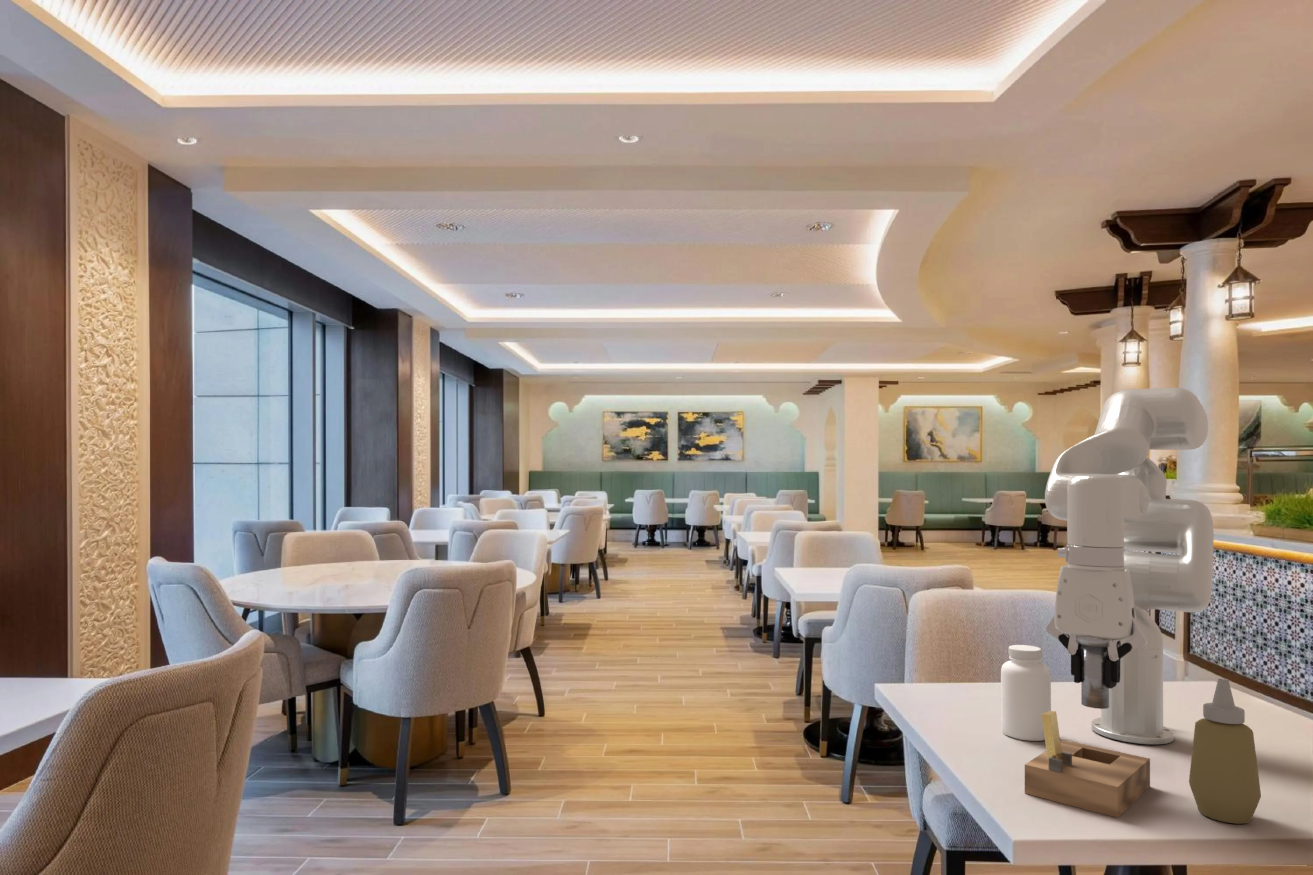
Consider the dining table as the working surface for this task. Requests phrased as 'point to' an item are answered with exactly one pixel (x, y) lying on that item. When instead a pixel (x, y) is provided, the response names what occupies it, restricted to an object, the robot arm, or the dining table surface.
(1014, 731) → the pill bottle
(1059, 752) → the bar
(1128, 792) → the block
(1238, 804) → the squeeze bottle
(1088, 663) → the steel pin
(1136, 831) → the dining table surface
